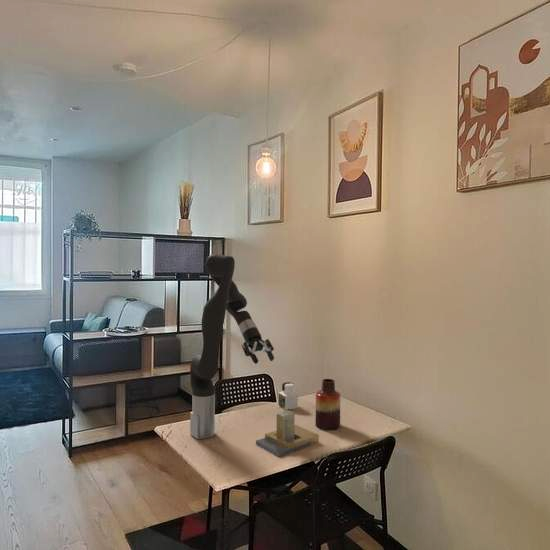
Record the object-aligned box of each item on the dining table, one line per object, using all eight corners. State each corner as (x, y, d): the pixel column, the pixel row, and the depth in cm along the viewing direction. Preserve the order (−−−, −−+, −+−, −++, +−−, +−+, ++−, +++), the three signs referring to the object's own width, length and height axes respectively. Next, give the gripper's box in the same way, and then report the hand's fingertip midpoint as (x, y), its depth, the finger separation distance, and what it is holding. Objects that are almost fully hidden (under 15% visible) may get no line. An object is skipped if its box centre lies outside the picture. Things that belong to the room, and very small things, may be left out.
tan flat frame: (278, 457, 165) (278, 449, 164) (255, 444, 175) (256, 436, 175) (318, 442, 178) (318, 435, 178) (295, 431, 189) (295, 424, 189)
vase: (328, 432, 188) (328, 385, 187) (310, 425, 196) (311, 379, 195) (345, 426, 195) (346, 381, 194) (327, 419, 203) (328, 375, 202)
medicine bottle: (278, 405, 221) (278, 382, 220) (291, 404, 224) (291, 380, 223) (284, 410, 214) (284, 386, 214) (297, 408, 217) (298, 384, 217)
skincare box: (287, 439, 181) (288, 409, 180) (294, 442, 177) (295, 412, 177) (275, 443, 177) (276, 413, 176) (282, 447, 173) (283, 416, 173)
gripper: (240, 328, 195) (255, 358, 187) (265, 325, 204) (281, 354, 196) (233, 338, 200) (247, 368, 191) (258, 334, 209) (273, 363, 200)
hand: (264, 361), depth 194 cm, fingers open, 8 cm apart
